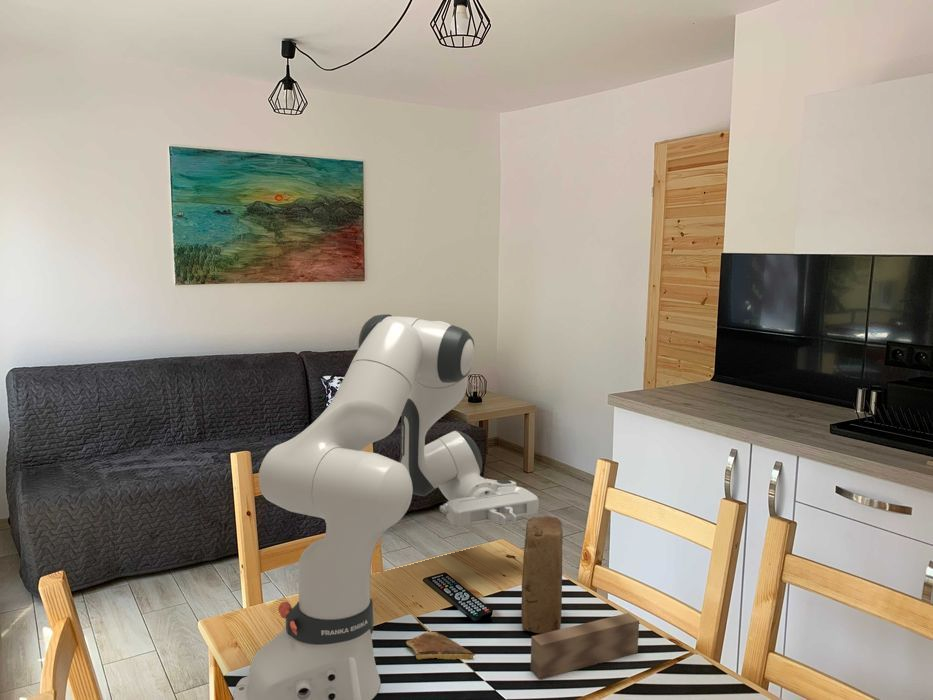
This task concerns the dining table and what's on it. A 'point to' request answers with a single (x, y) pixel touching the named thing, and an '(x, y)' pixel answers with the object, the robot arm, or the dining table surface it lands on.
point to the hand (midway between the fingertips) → (510, 520)
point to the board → (584, 645)
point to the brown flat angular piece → (437, 647)
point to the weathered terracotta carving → (542, 575)
